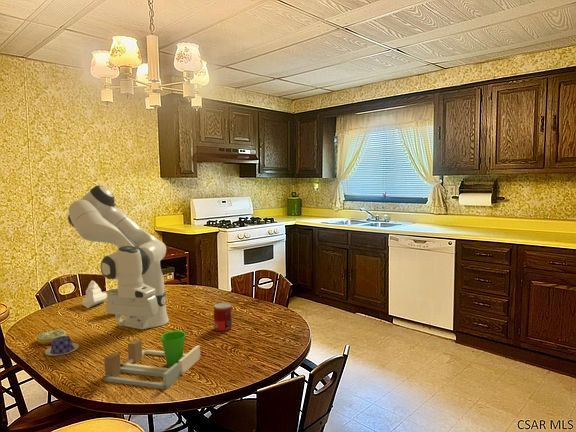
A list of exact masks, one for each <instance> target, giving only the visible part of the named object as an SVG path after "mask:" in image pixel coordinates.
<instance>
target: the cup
mask: <svg viewBox="0 0 576 432" xmlns="http://www.w3.org/2000/svg"><path fill="white" fill-rule="evenodd" d="M186 333H187V332H185V331H183V330H171V331H166V332H164V333H162V334H160V339H161V342H162V347H163V351H164V353H165V356H164V358H165V361H166V365H167V368H171V367H172V366H173V365H174V364H175V363H179V360H180V359H181V358H182V356H183V353H184V347H185V340H186V336H187V334H186Z"/></svg>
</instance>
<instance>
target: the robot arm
mask: <svg viewBox="0 0 576 432" xmlns="http://www.w3.org/2000/svg"><path fill="white" fill-rule="evenodd" d="M115 199H116V198H115V195H114V194H113V192H112V191H111V190H110V189H109V188H107V187H105V186H103V185H95V186H93V187H92V188H90V189H89V191H88V192H86V193H85V195H83V197H81V198H80V199H78V200H75V201H73V202H72V203H71V204H70V205H69V206H68V216H67V221H68V223H69V224H70V226H72V227H73V228H74V229H75V231H76V232H77V234H78V235H79V236H80V237H81V238H82V239H84V240H85V241H88V242H93V243H94V242H96V243H107V244H111V245H114V246H116V247H117V249H116V251H115V252H114V253H110V254H107V255H105V256H104V257H103V258H102V259H101V262H100V272H101V275H102V276H103V277H104V278H106V279H107V280H117V289H116V288H111V289H109V290H107V298H106V306H105V310H106V312H107V314H108V315H114V316H115V319H116V320H117V322H118V326H119V327H127V328H132V329H138V330H146V329H149V328H157V327H161V326H164V325H166V324H167V323H169V322H170V319H169V316H168V311H167V306H166V291H165V278H164V277H165V276H164V274H163V271H162V266H161V261H162V260H163V259H164V258H165V257H166V253H167V246H166V243H164V241H161V240H159V239H158V238H157V237H155V236H154V235H152V234H151V233H149V232H147V231H146V230H145V229H144V228H142V227H141V226H140V225H138V224H137V223H136V222H135V221H134V220H133V219H131V218H130V217H129V215H127V213H125V212H124V211H122V210H121V209H120V208H118V207H117V206H116V203H115ZM122 316H124V318H123V317H122Z"/></svg>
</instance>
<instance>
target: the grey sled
mask: <svg viewBox="0 0 576 432" xmlns="http://www.w3.org/2000/svg"><path fill="white" fill-rule="evenodd" d="M120 354H121V353H115V352H112V353H110V354H108V355H107V356H106V357H104V359H103V360H104V361H103V362H104V374H105V376H103V382H110V383H117V384H125V385H131V386H132V385H133V386H140V387H146V388H155V389H162V390H168V389H169V388H170V387H171V386H172V385H173V384H174V383H176V382H177V380H178V379H180V376H181V375H179V363H175V364H174V365H173V366H172V367H168V368H169V369H168V370H167V371H166V372H158V371H150V370H142V369H134V368H126V367H122V366H121V357H120V356H121V355H120ZM121 373H127V374H134V375H143V376H152V377H159V378H162V382H158V381H149V380H140V379H133V378H127V377H119V375H120V374H121Z"/></svg>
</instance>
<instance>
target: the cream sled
mask: <svg viewBox="0 0 576 432" xmlns="http://www.w3.org/2000/svg"><path fill="white" fill-rule="evenodd" d="M142 344H143V343H142V339H137V338H136V339H133V340H131V341H129V342H128V343H127V354H128V357H127V358H128V360H127V361H125V362H124V363H122V366H121V367H126V368H134V369H142V370H150V371H158V372H166V371H167V370H168V369H169V368H170V367H160V366H153V365H145V364H137V362H138V361H140V360H141V359H143V357H144V356H145V355H154V356H163V357H165V353H164V350H156V349H147V348H146V349H143V347H142V346H143V345H142ZM200 359H201V345H196V346H194V347H193V348H192V349H191V350H190V351H189V352H187V353H184V352H183V356H182V358H181V359H180V360H179V375H180V376H183V375H184V374H185V373H186V372H187V371H189V369H190V368H191V367H192V366H193V365H195V364H196V363H197V362H198V361H199V360H200Z"/></svg>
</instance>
